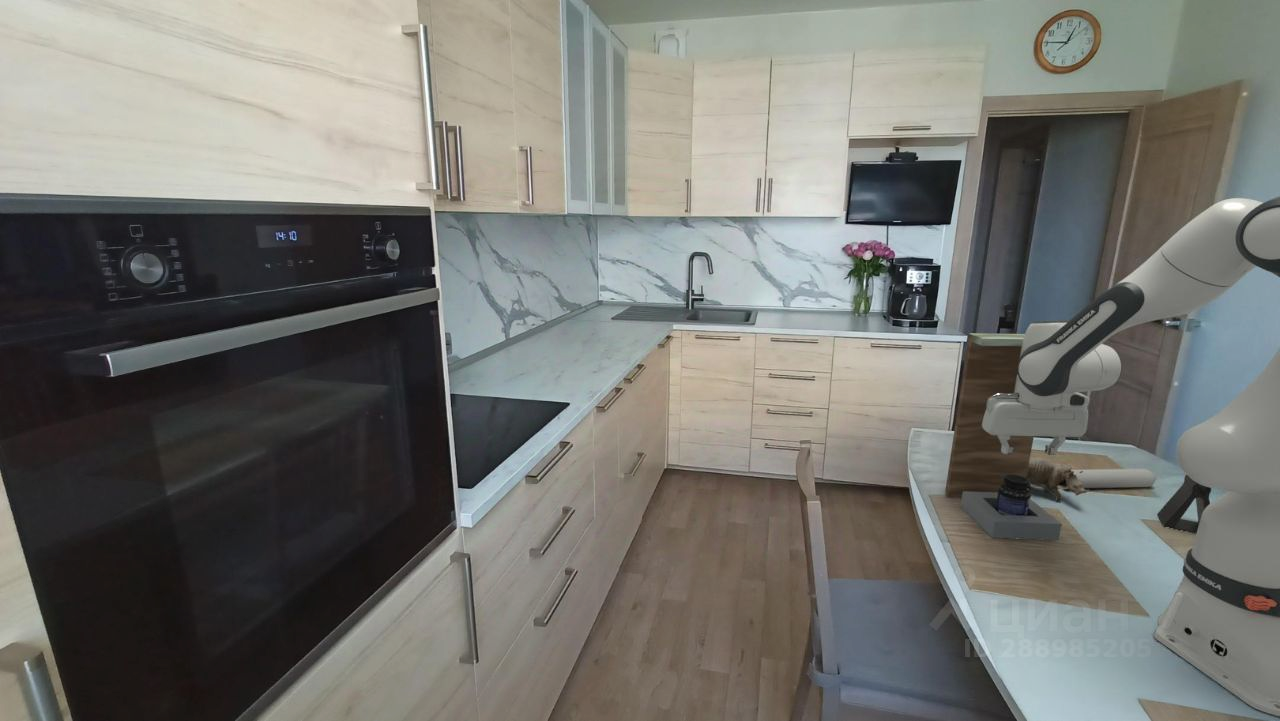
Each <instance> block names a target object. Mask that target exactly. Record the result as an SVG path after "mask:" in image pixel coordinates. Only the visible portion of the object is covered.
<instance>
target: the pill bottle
mask: <svg viewBox="0 0 1280 721" xmlns="http://www.w3.org/2000/svg"><path fill="white" fill-rule="evenodd" d="M1004 482H1005V484H1002V485H1000V486H999V490H998V496H997V502H996V508H995V510H996V511H997V512H999V513H1000V514H1001V515H1015V516H1027V512H1028V507H1029V501H1030V499H1031V495H1032V494H1031V492H1030V490H1029V489H1027V487H1029V480H1028V479H1027V478H1025V477H1022V476H1019V475H1014V474H1007V475H1005V477H1004Z"/></svg>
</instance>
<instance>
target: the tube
mask: <svg viewBox="0 0 1280 721" xmlns="http://www.w3.org/2000/svg"><path fill="white" fill-rule="evenodd" d="M1071 471H1074V473H1073V474H1075V475H1076V476H1077V478H1078V480H1079V482H1080V483H1081V484H1083V487H1084V489H1116V488H1117V489H1118V488H1119V489H1120V488H1121V489H1122V488H1148V487H1149V488H1150V487H1153V486H1154V484H1155V482H1156V480H1157V478H1156V476H1155V474H1154V473H1153V472H1152V471H1150V470H1148V469H1146V468H1101V469H1100V468H1099V469H1098V468H1097V469H1094V468H1092V469H1071ZM1080 471H1083V472H1082V473H1079V472H1080ZM1057 487H1058V489H1061V490H1062V491H1063V490H1069V488H1068V486H1064V485H1059V486H1057Z"/></svg>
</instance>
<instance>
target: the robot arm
mask: <svg viewBox="0 0 1280 721" xmlns="http://www.w3.org/2000/svg"><path fill="white" fill-rule="evenodd" d="M1256 267H1258V268H1260V269H1262V270H1265V271H1267V272H1269V273H1272V274H1273V275H1276V276H1277V277H1279V278H1280V195H1279V196H1276V197H1274V198H1271V199H1268V200H1266V201H1264V202H1262V201H1259V200H1256V199H1251V198H1246V197H1245V198H1244V197H1233V198H1227V199H1223V200H1221V201H1219V202H1218V201H1217V202H1216V203H1214V204H1212V205H1211V206H1209V207H1208V208H1206V209H1205V210H1204V211H1202V212H1201V213H1200V214H1198V215H1197V216H1195V217H1193V219H1192V220H1190V221H1189V222H1187V223H1186V224H1185V225H1184V226H1182V227H1181V228H1180V229H1179V230H1178V231H1176V232H1175V233H1174V234H1173V235H1172V236H1170V238H1169V239H1168V240H1167V241H1166V242H1165V243H1164V244H1163V245H1162V246H1161V247H1160V248H1158V249H1157V251H1155V252H1154V253H1153V254H1152V255H1151V256H1150V257H1149V258H1147V260H1146V261H1144V262H1143V263H1142V264H1141V265H1139V266H1138V267H1137V268H1136V269H1135V270H1134V271H1132V272H1130V274H1128V275H1127V276H1126V277H1125V278H1123V279H1121V280H1120V281H1118V282H1117V283H1116V284H1115V285H1113V286H1111V287H1110V288H1109V289H1107V290H1106V291H1104V292H1103V293H1102V294H1100V295H1099V296H1098V297H1097V298H1095V299H1094V300H1092V301H1090V303H1089V304H1088V305H1086V306H1085V307H1083V309H1081V310H1080V311H1079V312H1078V313H1076V315H1074V316H1073V317H1072V318H1071V319H1069V320H1064V319H1059V320H1058V319H1056V320H1053V319H1052V320H1037V321H1034V322H1032V323H1030V324H1029V325H1028V327H1027V329H1026V331H1025V333H1024V334H1025V336H1024V339H1023V343H1022V348H1021V353H1020V359H1019V362H1018V366H1017V372H1018V374H1017V378H1016V384H1015V390H1014V393H1006V394H1005V393H996V394H995V395H993V396H991V397H990V398H989V399H988V401H987V409H986V411H985V415H984V418H983V422H982V427H983V429H984V430H985V431H986V432H987V433H989V434H991V435H998V438H999V440H1000V442H1001V444H1002V447H1001V452H1002V453H1004V454H1012V450H1013V447H1012V446H1010V445H1009V444H1008V442H1007V440H1010V436H1034V437H1052V438H1053V440H1052V441H1051V442H1050V443H1049V444H1046V445H1045V450H1044V453H1046V454H1047V455H1048V456H1057V454H1058V449H1059V448H1060V447H1061V446H1062V445H1063V444H1064V443H1065V442H1066V438H1081V437H1082V436H1084V435H1085V434H1086V432H1087V429H1088V423H1089V421H1088V420H1089V410H1088V408H1087V406H1089V404H1090V400H1091V399H1090V397H1089V396H1087V395H1085V394H1083V392H1096V391H1101V390H1107V389H1109V388H1112V387H1113V386H1115V385H1116V383H1117V382H1118V381H1119V380H1120V378H1121V376H1122V372H1123V361H1122V358H1121V357H1120V355H1119V353H1118V352H1117V350H1115V349H1114V348H1113V347H1112V346H1110V345H1108V344H1105V342H1106V341H1108V340H1109V338H1111V337H1112V336H1114V335H1115V334H1117V333H1119V332H1121V331H1124V330H1126V329H1129V328H1131V327H1135V326H1138V325H1141V324H1146V323H1149V322H1153V321H1157V320H1163V319H1168V318H1172V317H1173V318H1174V317H1178V316H1183V315H1188V314H1191V313H1193V312H1196V311H1197V310H1199V309H1201V308H1203V307H1206V306H1207V305H1208V304H1211V303H1212V302H1213V301H1215V300H1217V299H1218V298H1219V297H1221V296H1222V295H1223V294H1224V293H1227V291H1228V290H1230V289H1231V288H1232V287H1233V286H1235V285H1236V283H1238V282H1239V281H1240V280H1242V278H1244V277H1245V276H1246V275H1247V274H1248V273H1250V272H1251V271H1253V270H1254V269H1255V268H1256ZM993 397H996V398H993ZM1176 444H1177V445H1176V457H1177V462H1178V463H1179V466H1180V468H1181V470H1182V471H1183V472H1184V474H1185V475H1188V476H1189V477H1190V478H1191V479H1192V480H1194V481H1195V482H1197V483H1199V484H1201V485H1203V486H1206V487H1209V488H1211V489H1216V490H1220V491H1225V493H1223V494H1222V495H1221V496H1220V497H1218V498H1217V499H1216V500H1214V501H1212V502H1210V504H1209V505H1208V506H1207V507H1206V508H1205V510H1204V511H1203V513H1202V516H1201V519H1200V523H1199V526H1198V530H1197V533H1196V535H1195V537H1194V542H1193V546H1192V548H1190V549H1189V550H1188V551H1187V553H1186V556H1185V558H1184V559H1183V566H1182V573H1183V576H1182V579H1181V581H1180V583H1179V585H1178V587H1177V590H1176V591H1175V593H1174V594H1173V597H1172V599H1171V601H1170V603H1169V604H1168V606H1167V607H1166V609H1165V610H1164V611H1163V613H1161V614H1160V616H1159V617H1158V620H1157V623H1158V627H1157V628H1156V629H1155V631H1154V634H1153V636H1154V638H1155V640H1157V641H1159V642H1160V643H1161V644H1163V645H1164V646H1165V647H1167V648H1168V649H1170V650H1171V651H1173V652H1174V653H1175V654H1177V655H1178V656H1179V657H1181V658H1182V659H1183V660H1185V661H1186V662H1188V663H1189V664H1191V665H1192V666H1193V667H1195V668H1196V669H1198V670H1199V671H1201V672H1202V673H1203V674H1205V675H1206V676H1207V677H1209V678H1211V680H1213V681H1215V682H1216V683H1217V684H1219V685H1220V686H1222V687H1223V688H1224V689H1226V690H1227V691H1229V692H1230V693H1231V694H1233V695H1235V697H1237V698H1238V699H1240V700H1241V701H1243V702H1244V703H1246V704H1247V705H1249V706H1250V707H1252V708H1254V709H1256V710H1258V711H1261V712H1263V713H1266V714H1269V715H1272V716H1275V717H1276V716H1277V717H1280V346H1279V347H1278V349H1277V350H1276V352H1275V353H1274V355H1273V357H1272V358H1271V359H1270V361H1269V362H1268V364H1267V365H1266V367H1265V368H1264V369H1263V371H1262V372H1261V373H1260V374H1259V376H1257V378H1255V379H1254V381H1252V382H1251V383H1250V385H1248V386H1247V387H1246V388H1245V389H1244V390H1242V392H1240V393H1239V395H1237V396H1236V397H1235V398H1233V400H1232V401H1230V402H1229V403H1228V404H1227V405H1226V406H1225V407H1223V408H1222V409H1221V410H1219V412H1217V413H1216V414H1214V415H1212V417H1210V418H1208V419H1207V420H1204V421H1203V422H1201V423H1199V424H1196V425H1194V426H1192V427H1190V428H1189V429H1187V430H1186V431H1184V432H1183V433H1182V434H1181V435H1180V437H1179V439H1178V441H1177V443H1176Z"/></svg>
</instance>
